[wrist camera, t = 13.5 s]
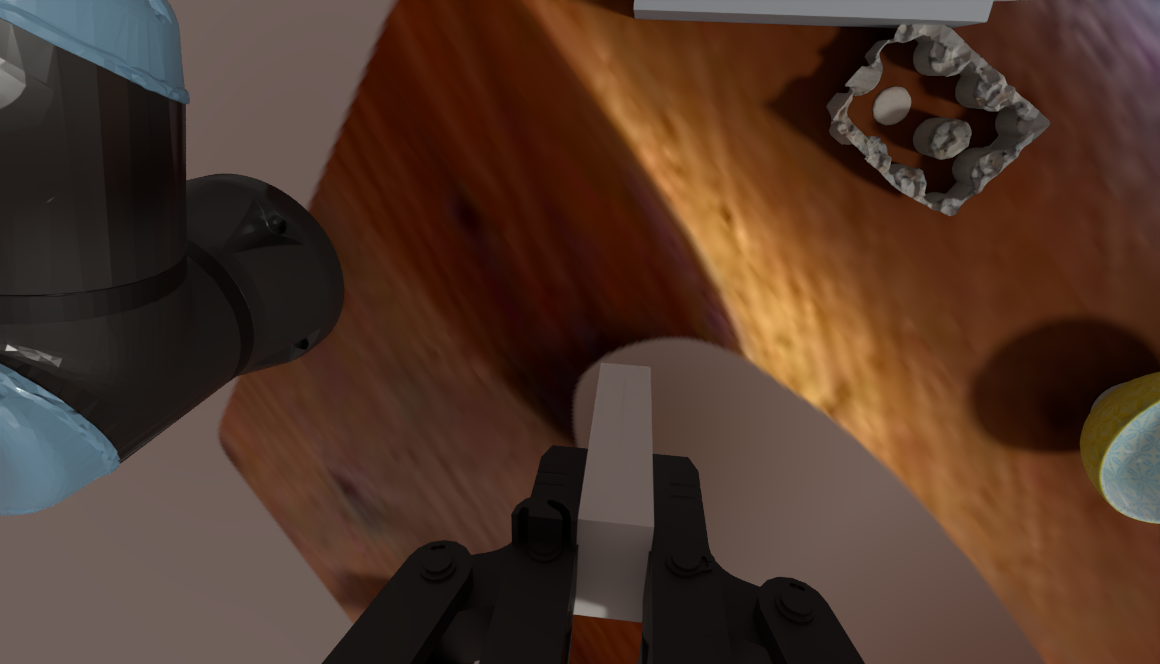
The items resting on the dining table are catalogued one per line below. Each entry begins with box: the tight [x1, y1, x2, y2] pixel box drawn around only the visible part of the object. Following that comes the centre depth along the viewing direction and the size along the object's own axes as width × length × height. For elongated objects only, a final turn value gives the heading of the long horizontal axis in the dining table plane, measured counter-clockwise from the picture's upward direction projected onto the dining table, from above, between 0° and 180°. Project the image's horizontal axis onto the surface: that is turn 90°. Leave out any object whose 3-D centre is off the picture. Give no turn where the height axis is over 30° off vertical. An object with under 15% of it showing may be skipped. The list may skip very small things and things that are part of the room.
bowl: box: [1080, 372, 1160, 523], centre depth 38 cm, size 11×12×6 cm
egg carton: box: [826, 24, 1050, 216], centre depth 33 cm, size 11×8×4 cm
